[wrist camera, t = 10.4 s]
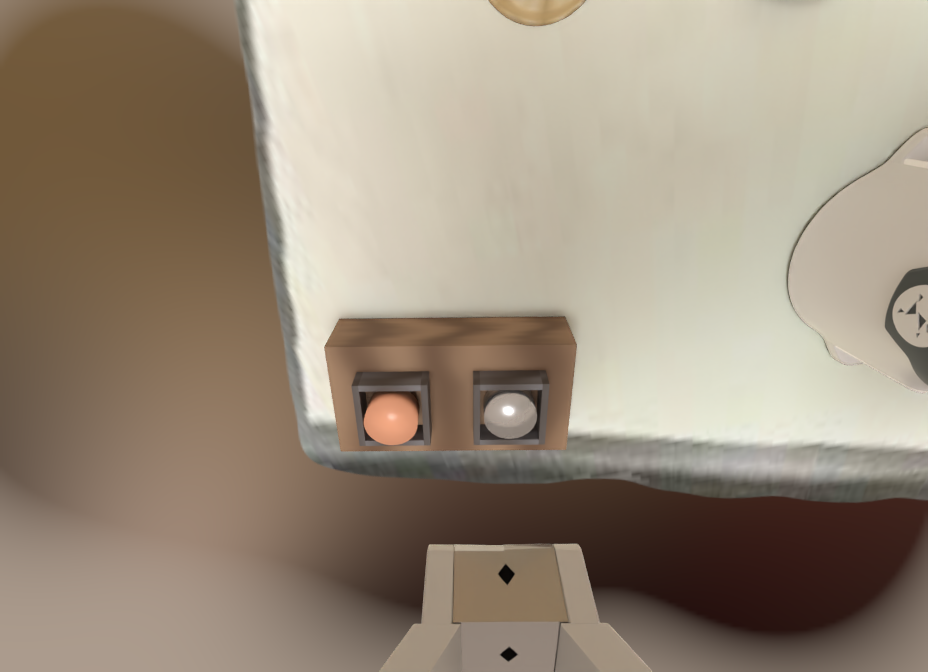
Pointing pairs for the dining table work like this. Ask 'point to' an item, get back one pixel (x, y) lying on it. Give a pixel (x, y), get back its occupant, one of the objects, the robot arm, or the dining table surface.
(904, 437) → the dining table surface
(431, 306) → the dining table surface
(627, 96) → the dining table surface
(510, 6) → the hand bell
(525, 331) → the button box
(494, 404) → the steel button
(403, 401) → the terracotta button
